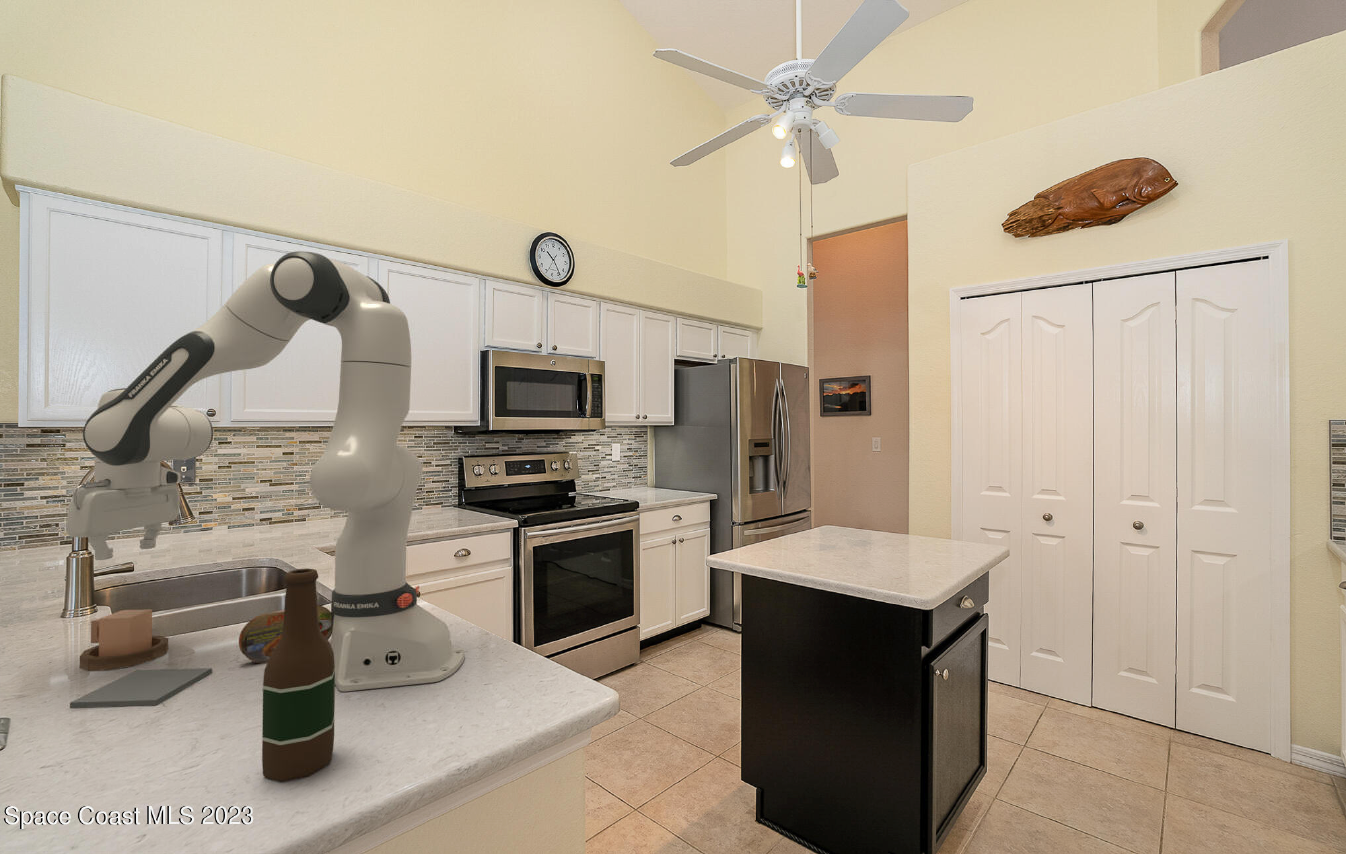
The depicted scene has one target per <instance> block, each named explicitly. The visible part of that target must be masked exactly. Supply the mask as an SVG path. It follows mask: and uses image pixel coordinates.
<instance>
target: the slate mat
mask: <svg viewBox="0 0 1346 854" xmlns="http://www.w3.org/2000/svg"><path fill="white" fill-rule="evenodd" d="M212 673H213V667H207V668H206V667H204V668H203V667H200V668H197V667H196V668H162V669H161V668H159V669H158V668H157V669H136V670H133V671H131V672H130V673H127V674H126V675H125V674H124V675H123V676H121V677H120V678H117V679H115V680H113V681H111V682H109V683H106V684H105V685H103V686H101V687H99V688H97V689H95V690H93V691H91V692H89V693H87V694H85V695H83V696H80V697H79V698H77V699H74V700H72V701H70V702H69V708H70V709H75V708H76V709H79V708H81V709H82V708H110V707H112V708H113V707H115V708H116V707H141V706H142V707H144V706H146V707H147V706H157V705H160V704H161V703H163V702H164V701H167V700H168V699H169V698H172V697H173V696H175V695H177V694H178V693H180V692H181V691H183V690H185V689H187V688H188V687H190V686H192V685H193V684H196V683H197V682H199V681H200V680H202V679H203V678H205V677H207V676H210V674H212Z"/></svg>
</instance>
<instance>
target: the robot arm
mask: <svg viewBox="0 0 1346 854" xmlns="http://www.w3.org/2000/svg"><path fill="white" fill-rule="evenodd" d="M389 297H390V296H389V295H388V292H387V291H386V290H385V289H384V287H383V286H382V285H381V284H380V283H379V282H377V281H376V280H375V279H374V278H372V277H370V276H366V275H365V274H364V273H361V272H359V271H358V270H356V269H354V268H353V267H351V266H350V265H348V264H346V263H343V262H341V261H338V260H336V259H335V260H334V259H332V258H328V257H326V256H325V255H322V254H321V253H317V252H312V251H301V250H299V251H297V250H296V251H291V252H288V253H286V254H284V255H282V256H281V257H280V258H279V259H277V261H276V262H275V263H268V264H266V265H262V266H261V267H260V268H258V269H257V270H255V272H254V273H252V274H251V275H250V276H249V277H248V278H247V279H246V280H245V281H244V282H242V284H241V285H239V286H238V288H237V289H236V290H235V291H234V292H233V293H232V294H231V296H230V297H229V298H228V300H227V301H225V303H224V304H223V305H222V306H221V307H220V309H218V311H217V312H216V313H215V314H214V315H213V316H211V317H210V318H209V319H208V320H207V321H206V322H204V323H203V324H202V325H200V326H199V327H197V328H196V329H194V330H192V331H190V332H188V333H186V334H184V335H183V336H180V337H179V338H178V339H176V340H175V341H174V342H173V343H172V344H170V345H169V346H168V347H167V348H166V349H165V350H164V351H163V352H162V353H160V354H159V355H158V356H157V358H155V359H154V360H153V362H151V363H150V364H149V365H148V366H147V367H146V368H145V369H144V370H143V371H142V373H140V374H139V375H138V376H137V377H136V378H135V379H134V380H133V381H132V382H131V384H129V385H128V386H127V387H123V388H117V389H116V388H115V389H111V390H109V391H107V392H104V393H103V394H102V395H101V397H100V399H99V402H98V405H97V409H96V410H95V411H94V412H93V413H91V415H90V416H89V417H88V419H87V420H86V421H85V425H84V427H83V430H82V438H83V442H84V444H85V446H86V448H87V449H88V451H89V452H90V453H91V454H92V455H93V456H94V467H93V469H94V471H93V472H94V473H93V474H94V475H93V476H94V478H93V481H91V480H90V481H87V480H86V481H84V482H81V483H80V485H78V486H77V487H76V488H75V489H74V490H73V492H72V497H71V499H70V501H69V504H68V510H67V514H66V515H67V516H66V523H65V532H66V533H67V535H68V536H69V537H70V538H87V539H88V543H89V545H90V546H91V548H92V549H93V550H94V559H95V561H107V560H110V559H112V558H113V557H114V554H113V553H114V548H112V547H111V548H110V547H109V546H108V544H107V541H108V540H109V537H110V535H109V534H112V533H118V532H122V531H127V530H128V531H129V530H133V529H139V528H143V529H144V530H145V533H144V536H143V538H142V539H140V540H139V548H140V549H141V550H150V549H153V548H154V549H155V548H156V547H157V544H156V543H157V539H158V536H159V534H160V532H161V531H162V524H164V523H169V522H172V521H173V522H174V521H176V520H177V518H178V516H179V514H180V507H181V506H180V504H181V499H180V498H181V492H180V491H181V490H180V488H179V486H178V484H179V483H181V481H182V480H181V478H182V477H181V476H182V475H181V473H180V472H178V471H175V470H172V469H169V468H167V467H164V466H161V462H167V461H168V462H169V461H177V460H178V461H182V460H189V459H193V458H198V457H199V456H202V455H203V454H204V453H205V452H206V451H207V450H208V449H209V448H210V446H211V444H212V442H213V438H214V428H213V425H212V423H211V420H210V419H209V418H208V416H207V415H206V414H204V413H203V412H202V411H200V410H198V409H193V408H189V407H186V406H183V405H179V404H178V403H176V402H177V400H178V399H179V398H180V397H182V395H183V394H185V392H186V391H187V390H189V389H190V388H191V387H192V386H193V385H194V384H196V383H198V382H201V380H204V379H206V378H209V377H213V376H216V375H220V374H225V373H230V372H236V371H243V370H244V371H245V370H253V369H256V368H260V367H263V366H266V365H267V364H269V363H270V362H272V361H273V360H274V359H275V358H277V357H278V356H279V355H280V354H281V353H282V352H283V351H284V350H285V348H286V347H287V345H288V344H289V343H290V342H291V340H292V339H293V338H294V336H295V335H296V334H297V332H298V331H299V329H300V328H301V327H302V326H303V325H304V324H305V323H306V322H308V321H310V320H312V321H314V322H318V323H320V324H323V325H325V326H330V327H334V328H336V330H337V331H338V333H339V335H340V338H341V352H340V353H341V355H340V371H339V372H340V373H339V375H340V376H339V391H338V392H339V393H338V404H337V411H336V415H335V419H334V421H333V422H334V423H333V426H332V430H331V432H330V436H329V438H328V441H327V444H326V447H325V448H324V449H325V450H324V451H323V453H322V455H321V456H320V458H319V459H318V460H317V461H316V462H315V463H314V465H313V467H312V468H311V471H310V473H309V488H310V491H311V493H312V495H313V497H314V498H315V500H316V501H317V502H318V503H319V504H321V505H322V506H324V508H327V509H330V510H334V511H339V512H347V517H346V521H345V523H344V527H343V529H342V531H341V533H340V535H339V537H338V538H337V541H336V543H335V548H334V589H333V590H332V591H331V600H330V601H331V603H330V612H331V619H332V622H333V630H332V635H331V637H330V645H331V647H332V650H333V652H334V661H335V687H336V688H337V690H338V691H340V692H349V691H350V692H351V691H361V690H369V689H370V690H372V689H379V688H380V689H381V688H390V687H399V686H400V687H402V686H408V685H409V686H410V685H418V684H421V685H422V684H428V683H437V682H439V681H442V680H445V679H446V678H448V677H450V676H452V675H453V674H454V673H455V672H456V671H457V670H458V669H459V668H460V667H461V666H462V665H463V662H464V661H465V652H464V651H465V650H464V649H463V648H462V647H461V646H456V645H455V646H453V645H452V638H451V633H450V630H449V627H448V624H447V623H446V622H444V621H443V620H442V619H439V617H437V616H435V615H433V614H432V613H430V612H429V611H428V610H426V609H424V608H423V607H422V606H420V604H418V603H417V601H418V594H419V593H420V585H417V586H415V588H414V587H413V586H412V585H410V584H409V583H408V582H407V580H406V577H407V576H406V575H407V573H406V572H407V571H406V570H407V541H408V533H409V528H410V522H411V518H412V513H413V508H414V503H415V499H416V493H417V490H418V487H419V486H420V483H421V482H422V479H423V473H424V472H423V471H424V470H423V465H422V462H421V460H420V458H419V457H418V456H417V455H416V454H415V453H414V452H413V451H411V450H409V449H407V448H405V447H403V446H402V445H398V444H397V443H398V440H399V436H400V432H401V429H402V425H404V421H405V420H406V418H407V417H408V415H409V412H410V409H411V408H410V407H411V406H410V405H411V404H410V401H411V382H412V381H411V379H412V378H411V377H412V342H411V334H410V328H409V327H410V326H409V322H408V318H407V316H406V314H405V312H403V311H402V309H400V308H398V306H396V305H393V304H392V303H391V300H390V298H389Z"/></svg>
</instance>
